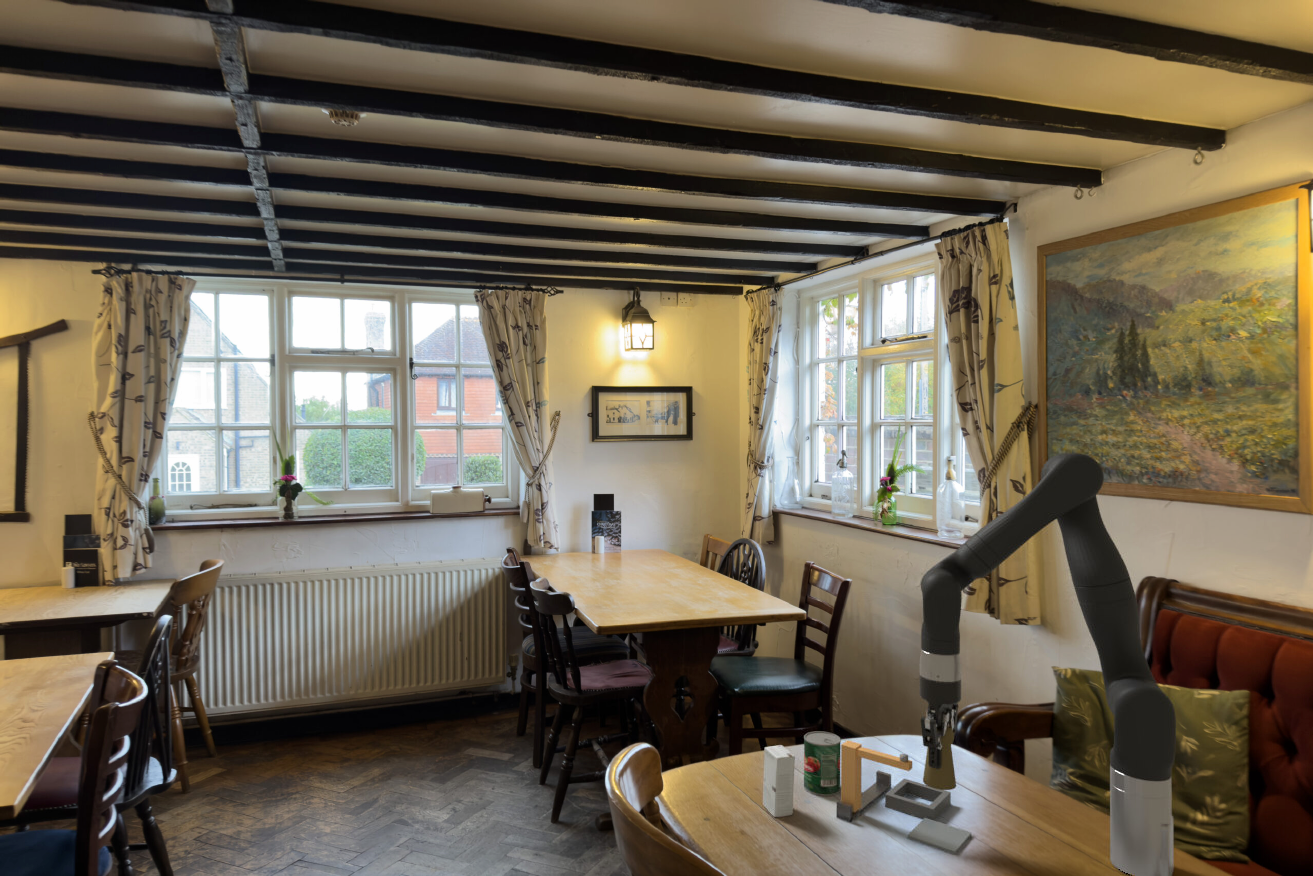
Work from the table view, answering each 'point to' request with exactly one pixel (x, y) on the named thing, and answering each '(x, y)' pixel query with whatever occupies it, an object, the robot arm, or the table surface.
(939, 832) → the coaster
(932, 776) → the cork
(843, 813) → the rail
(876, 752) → the orange angled bracket
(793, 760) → the skincare box
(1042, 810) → the table surface
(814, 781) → the canned tomato
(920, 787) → the socket
